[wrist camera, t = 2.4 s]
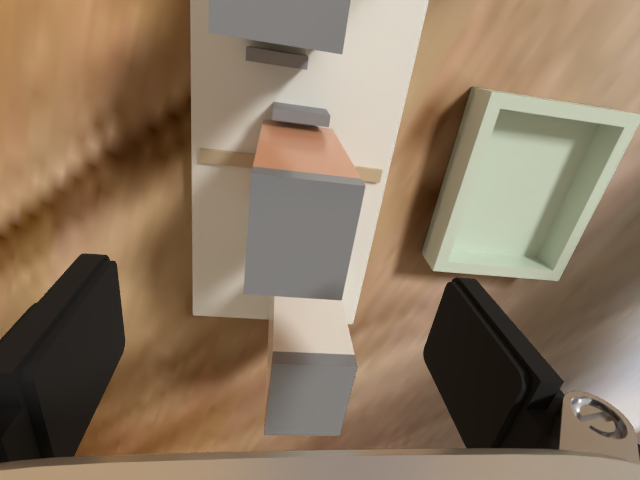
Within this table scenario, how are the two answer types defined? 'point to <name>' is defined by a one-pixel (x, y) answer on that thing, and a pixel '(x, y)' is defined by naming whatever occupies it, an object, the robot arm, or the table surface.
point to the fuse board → (297, 108)
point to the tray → (523, 184)
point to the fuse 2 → (308, 367)
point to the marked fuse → (301, 213)
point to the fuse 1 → (283, 22)
